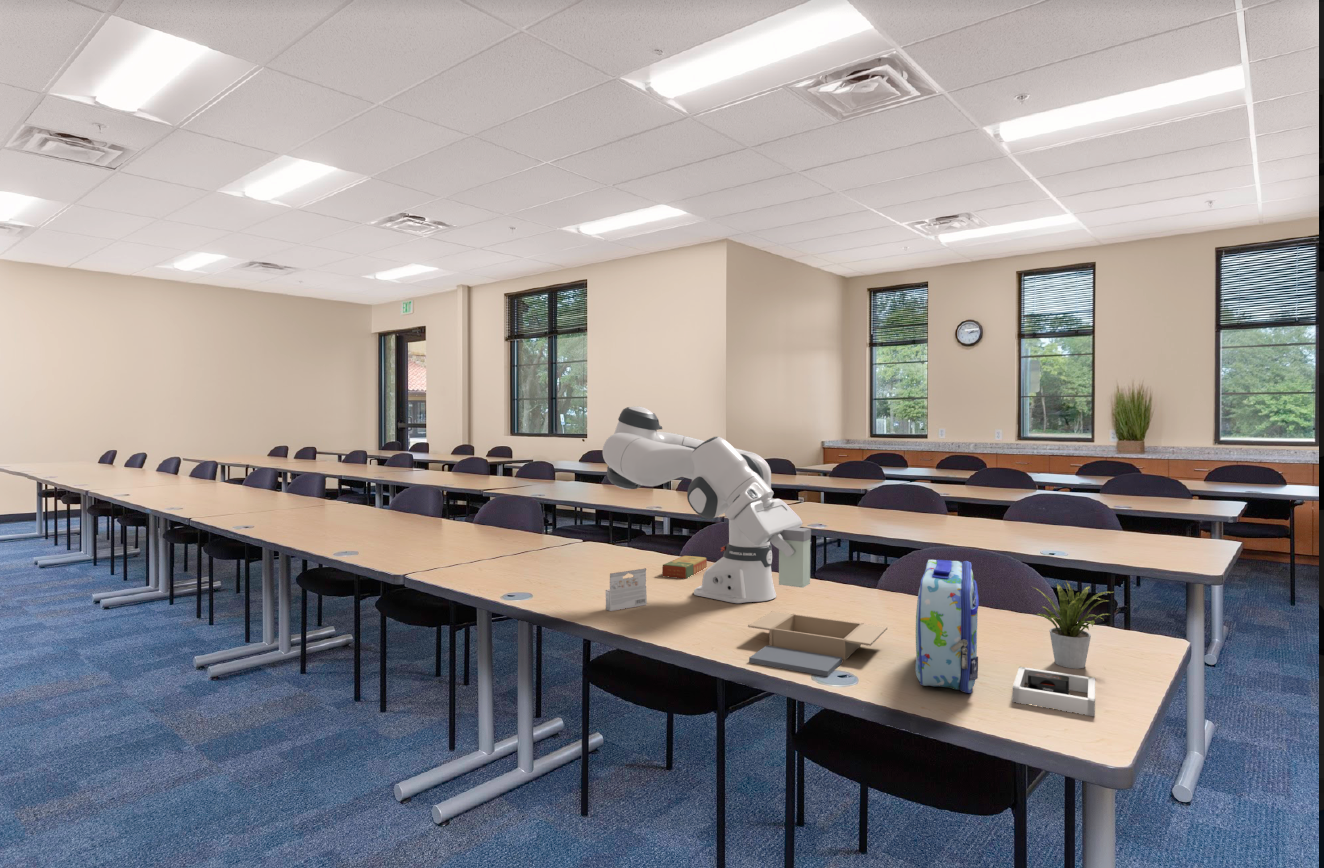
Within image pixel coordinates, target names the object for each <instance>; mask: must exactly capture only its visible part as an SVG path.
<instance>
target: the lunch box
mask: <svg viewBox="0 0 1324 868" xmlns="http://www.w3.org/2000/svg"><path fill="white" fill-rule="evenodd" d="M979 604H980V602H979V593H978V584H977V581H976V580H975V579H974V573H973V569H972V562H970V561H968V560H964V561H960V560H950V559H949V560H945V559H928V560H927V562H926V565H925V570H924V573H923V575H922V577H921V579H920V586H919V589H918V594H917V602H916V612H915V613H916V614H915V655H916V658H915V676H916V678H917V679H918V683H919V684H920V685H921V686H924V687H925V686H926V687H927V686H931V687H936V688H937V687H941V688H949V689H952V690H956V691H960V692H963V693H965V694H972V691H973V688H974V686H975V684H976V680H978V678H979V677H978V676H979V674H978V673H979V672H978V671H979V656H977V651H978V617H979V616H978V609H979V606H980V605H979Z"/></svg>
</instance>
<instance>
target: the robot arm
mask: <svg viewBox="0 0 1324 868" xmlns="http://www.w3.org/2000/svg"><path fill="white" fill-rule="evenodd" d="M617 420H618V422H617V425H616V428H615V431H614V433H613V434H612V435H610V436H609V437H608V438H607V439H606V440H605V442H604V444H603V447H602V457H603V460H604V462H605V464H606V465H607V467H606V473H607V474H606V477H607V480H608V482H610V483H611V484H612V485H614V486H616V487H617V488H620V489H621V490H622V489H623V490H637V489H639V488H640V487H643V486H645V487H658V486H660V485H662V484H663V485H664V484H666V483H668V482H671V481H673V480H676V479H679V478H685V479H690V480H691V482H690V484H689V485H688V488H687V494H686V497H687V502H688V504H689V506H690V507H691V509H692V510H693V511H694V512H695V513H696V514H697V515H698V516H700V517H702V518H705V519H706V520H713V519H715V518H718V517H720V516H722V515H723V514H724V515H725V517H726V518H727V520H728V538H729V539H728V543H727V544H725V545H723V546H722V547H720V549H721V550H720V552H723V556H722V557H721V558H720V559H718V560H717V561H716V562H714V563H713V564H712V565H711V566H709V567H708V568H707V569H706V570H704V573H703V576H702V583H701V585H699V586H697V587H696V588H695V589H694V590H693V595H694V596H697V597H698V596H699V597H704V598H708V599H712V600H713V599H714V600H718V601H723V602H727V603H733V604H742V603H752V602H753V603H755V602H766V601H770V600H773V599H776V598H777V593H776V590H775V585H774V580H773V574H772V563H773V552H772V550H773V549H772V548H773V547H775V548H777V549H778V551H779V550H781V551H782V552H783V553H784V554H785V555H786V556H787V557H790V556H792V555H793V554H794V553H795V552H796V550H795V548H793V546H792V545H791V544H790V545H789V544H788V543H787V542H786V541H785V540H784V539H783V537H782V535H781V534H780V533H781V532H783V529H786V528H789V527H797V528H801V527H802V525H803V524H804V523H803V520H802V519H801V517H800V515H798V514H797V513H796V512H795V511H794V510H793V509H792V508H791V507H790V506H789V505H788V504H787V503H786V502H785V501H784V500H782V499H780V498H773V496H774V494H775V493H774V491H773V490H772V471H771V467H770V464H768V462H767V461H766V460H765V459H764V458H763V457H762V456H760V455H759V454H757V453H755V452H753V451H749V450H748V451H747V450H744V449H740V448H736V447H734V446H733V445H732V444H731V443H730V442H729V441H727V440H726V439H725V438H723V437H721V436H713V437H711V438H709V439H706V440H702V439H699V438H695V437H690V436H686V435H682V434H679V433H675V432H674V433H673V432H666V431H660V430H663V426H661V424H660V421H659V417H657V415H656V413H654V412H652V411H651V410H650V409H648V408H647V407H644V406H640V405H639V406H634V405H633V406H628V407H625V408H623V409H622V410H621V413H620V414H619V416H618V418H617ZM657 430H659V431H657ZM772 546H773V547H772Z"/></svg>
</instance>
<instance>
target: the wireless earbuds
mask: <svg viewBox="0 0 1324 868" xmlns="http://www.w3.org/2000/svg"><path fill="white" fill-rule="evenodd" d="M1024 688H1030V689H1036V690H1043V691H1049V692H1055V693H1061V694H1067V695H1070V690H1069V677H1067V676H1062V675H1055V674H1049V673H1042V672H1035V671H1029V672H1028V683H1027V685H1024Z"/></svg>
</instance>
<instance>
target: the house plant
mask: <svg viewBox="0 0 1324 868" xmlns="http://www.w3.org/2000/svg"><path fill="white" fill-rule="evenodd" d="M1062 582H1063V584H1064V586H1065V589H1066V591H1067V593H1066V592H1065V590H1064V589H1063V587H1062V586H1061V585H1060V584H1058V583H1056V588H1057V593H1058V601H1059V608H1058V606H1057V605H1056V604H1055V602H1054V601H1053V600H1052V598H1051V597H1049V596H1048V595H1046V594H1045V593H1044V592H1043V591H1041V590H1040V589H1038V588H1037V587H1033V586H1032V588H1033V589H1035V590H1037V591H1038V592H1039V593H1041V594H1042V595H1043V596H1044V597H1045V598H1046V600H1048V602H1049V603H1050V605H1051V606H1052V607H1053V609H1054V611H1055V612H1056V613H1054V612H1053V611H1052V610H1050V608H1048V607H1046V606H1044V605H1041V608H1043V609H1044V610H1045V612H1046V613H1047V614H1044V613H1037V614H1035V615H1038V616H1040V617H1043V618H1044V619H1046V620H1048V621H1049V622H1051V623H1052V624H1053V625H1054V627H1052V628H1050V629H1049V637H1050V642H1051V647H1052V653H1053V659H1054V663H1055V664H1056V665H1057V666H1060V667H1064V668H1066V669H1067V668H1068V669H1073V670H1074V669H1078V670H1079V669H1084V668H1086V663H1087V657H1088V653H1089V647H1090V642H1091V636H1092V635H1091V633H1090V632H1088V631H1090V627H1089V625H1091V627H1093V626H1094V625H1095V623H1096V622H1095V620H1097V619H1098V618H1100V619H1102V620H1104V618H1103V617H1102V616H1106V615H1107V616H1109V615H1110V613H1101V614H1099V615H1095V614H1091V613H1090V612H1091V611H1092V610H1093V608H1095V607H1096V606H1098V605H1100V604H1101V603H1103V602H1109V600H1106V599H1104V598H1103V599H1102V598H1099V596H1102V595H1105V594H1111V593H1113V591H1102V592H1099V593H1096V594H1095V595H1092V596H1091V597H1090V598H1089V599H1088V600H1087V601H1086V602H1085V603H1084V601H1085V600H1086V598H1087V595H1088V594H1089V589H1091V585H1090V586H1089V585H1088V586H1087V587H1085V588H1084V589H1083V590H1082V591H1081V593H1080V592H1077V593H1075V594H1074V590H1073V588H1072V586H1071V584H1070V583H1069V582H1068V581H1067V580H1065V582H1066V584H1065V583H1064V581H1062ZM1094 600H1098V601H1097V602H1095V603H1094V604H1093V605H1092V606H1091V607H1090V608H1089V609H1088V610H1087V612H1086V613H1085V614H1084V616H1082V617H1081V618H1080V616H1081V615H1082V614H1083V612H1084V611H1085V610H1086V609H1087V607H1088V606H1089V605H1090V604H1091V603H1092V602H1093V601H1094ZM1099 600H1100V601H1099ZM1089 613H1090V614H1089ZM1056 614H1057V615H1058V616H1057V615H1056ZM1091 617H1093V618H1091ZM1079 618H1080V619H1079ZM1088 618H1091V620H1087V619H1088ZM1085 623H1086V624H1085ZM1085 629H1087V630H1088V631H1086V630H1085Z"/></svg>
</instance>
